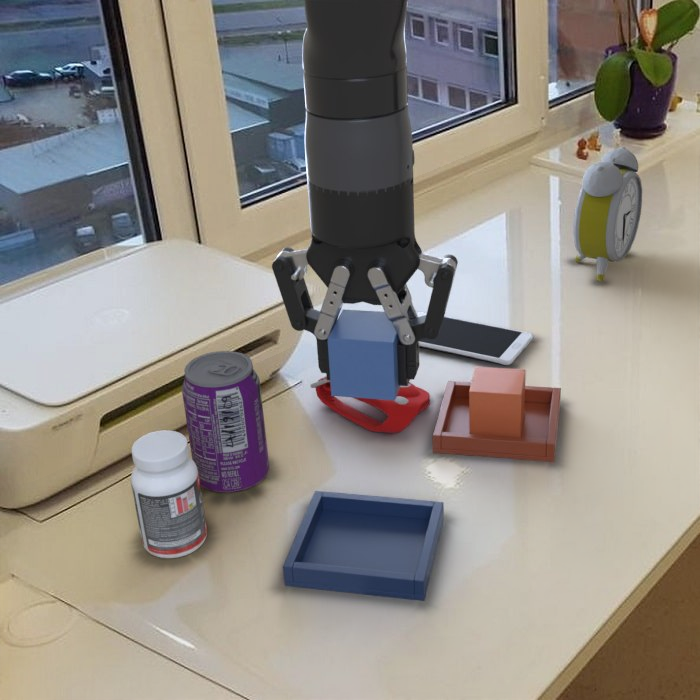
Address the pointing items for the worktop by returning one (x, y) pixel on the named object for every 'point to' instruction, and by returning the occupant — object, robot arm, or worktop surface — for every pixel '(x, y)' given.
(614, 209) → the alarm clock
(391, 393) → the blue block
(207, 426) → the beverage can
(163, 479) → the pill bottle
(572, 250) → the worktop surface
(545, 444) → the terracotta tray
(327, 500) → the blue tray
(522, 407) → the terracotta block
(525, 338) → the smartphone
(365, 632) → the worktop surface
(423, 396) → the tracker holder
